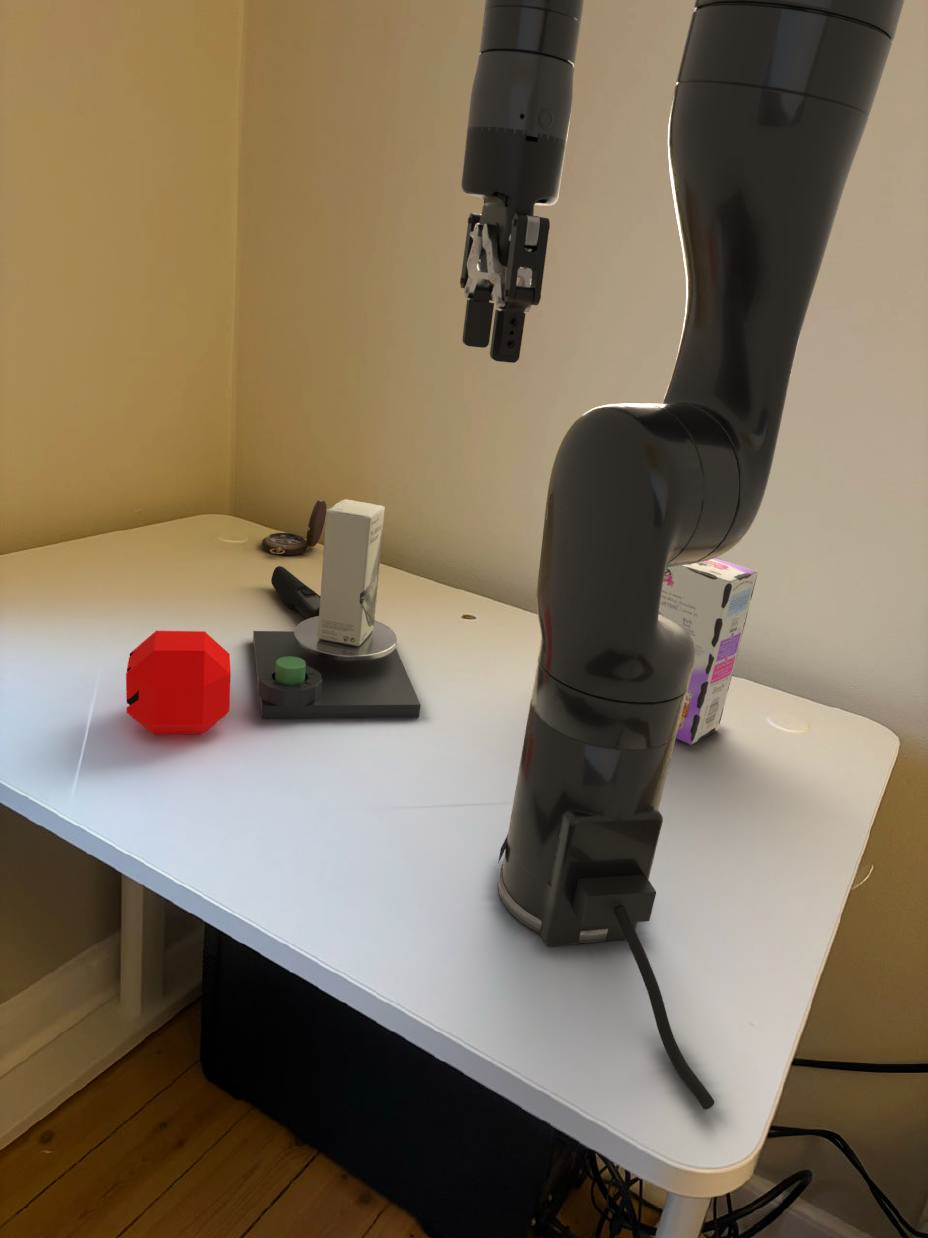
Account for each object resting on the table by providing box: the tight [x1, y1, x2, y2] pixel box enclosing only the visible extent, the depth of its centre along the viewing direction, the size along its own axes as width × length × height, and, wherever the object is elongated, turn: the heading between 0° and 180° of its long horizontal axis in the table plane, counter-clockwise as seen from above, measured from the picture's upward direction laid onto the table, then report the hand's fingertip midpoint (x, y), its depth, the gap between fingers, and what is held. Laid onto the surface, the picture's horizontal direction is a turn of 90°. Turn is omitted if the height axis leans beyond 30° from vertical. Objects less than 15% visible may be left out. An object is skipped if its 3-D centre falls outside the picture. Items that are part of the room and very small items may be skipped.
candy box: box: [659, 557, 759, 746], centre depth 87 cm, size 14×6×16 cm, turn 47°
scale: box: [252, 630, 421, 721], centre depth 88 cm, size 16×14×3 cm
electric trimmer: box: [270, 565, 321, 620], centre depth 102 cm, size 4×16×3 cm, turn 32°
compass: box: [261, 498, 328, 556], centre depth 120 cm, size 8×8×7 cm
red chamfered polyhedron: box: [125, 630, 232, 736], centre depth 76 cm, size 8×8×8 cm
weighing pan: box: [293, 616, 398, 662], centre depth 90 cm, size 10×10×1 cm
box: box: [317, 498, 386, 646], centre depth 87 cm, size 5×4×13 cm
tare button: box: [275, 656, 306, 685], centre depth 81 cm, size 3×3×2 cm
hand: (488, 353), depth 75 cm, fingers open, 8 cm apart
